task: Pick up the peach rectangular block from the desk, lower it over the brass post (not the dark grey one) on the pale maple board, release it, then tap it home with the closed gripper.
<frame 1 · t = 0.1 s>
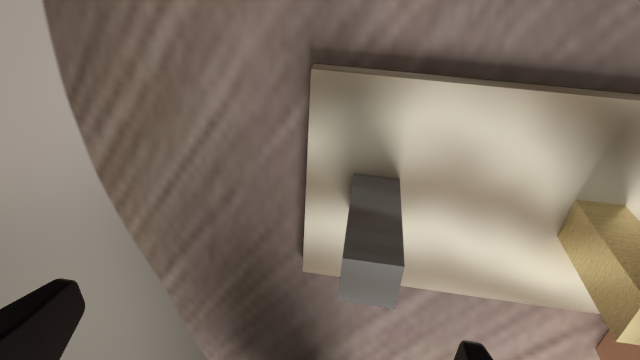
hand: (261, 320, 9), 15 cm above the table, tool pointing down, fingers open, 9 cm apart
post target: (582, 210, 23), resting on post board
post board: (476, 197, 23), on the table
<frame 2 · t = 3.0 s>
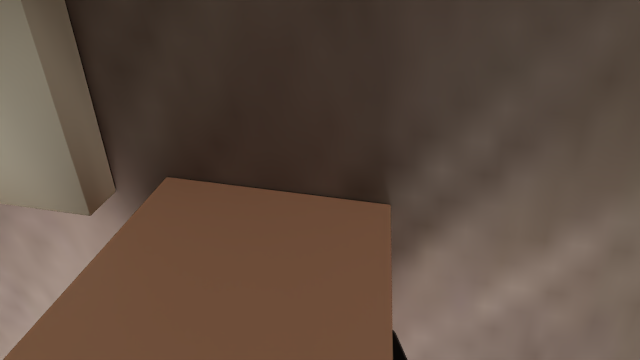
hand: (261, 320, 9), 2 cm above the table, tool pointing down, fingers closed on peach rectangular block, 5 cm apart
peach rectangular block: (276, 272, 10), on the table, touching gripper
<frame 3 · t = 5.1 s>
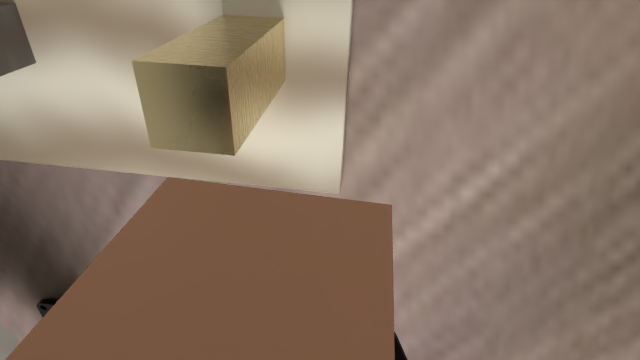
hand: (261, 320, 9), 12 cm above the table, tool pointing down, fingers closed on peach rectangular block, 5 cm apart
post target: (261, 43, 18), resting on post board
post board: (135, 35, 18), on the table
peach rectangular block: (277, 272, 10), point 10 cm above the table, touching gripper
when the fingers open (5 cm above the table, at t = 7.4 s): peach rectangular block drops 1 cm, resting on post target.
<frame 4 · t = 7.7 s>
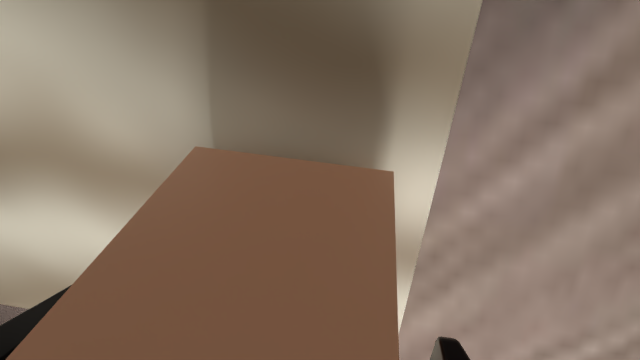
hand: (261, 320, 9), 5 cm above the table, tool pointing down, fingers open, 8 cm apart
post board: (131, 176, 14), on the table
peach rectangular block: (290, 235, 12), point 2 cm above the table, touching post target
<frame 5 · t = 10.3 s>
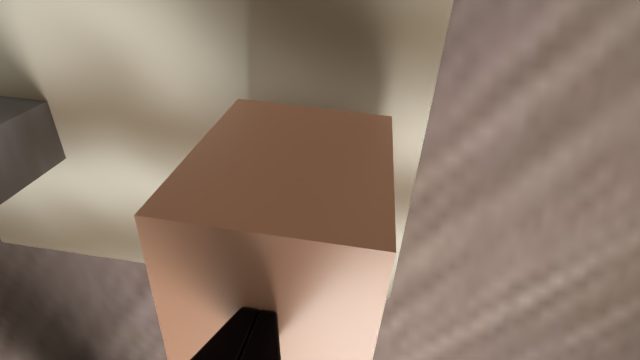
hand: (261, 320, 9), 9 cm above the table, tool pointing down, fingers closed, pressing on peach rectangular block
post board: (176, 133, 17), on the table
peach rectangular block: (309, 173, 15), point 2 cm above the table, touching gripper, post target
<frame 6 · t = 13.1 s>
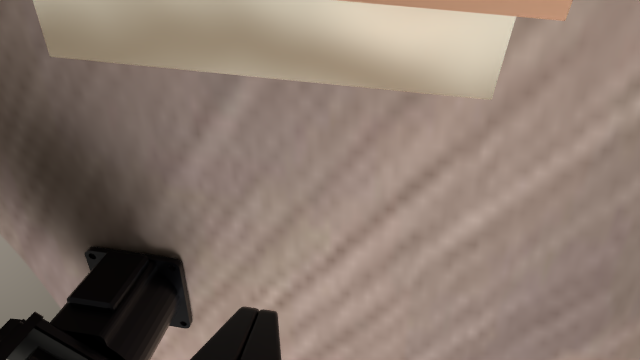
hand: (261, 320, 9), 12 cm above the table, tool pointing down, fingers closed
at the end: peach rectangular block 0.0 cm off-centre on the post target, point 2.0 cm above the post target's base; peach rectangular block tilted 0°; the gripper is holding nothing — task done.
